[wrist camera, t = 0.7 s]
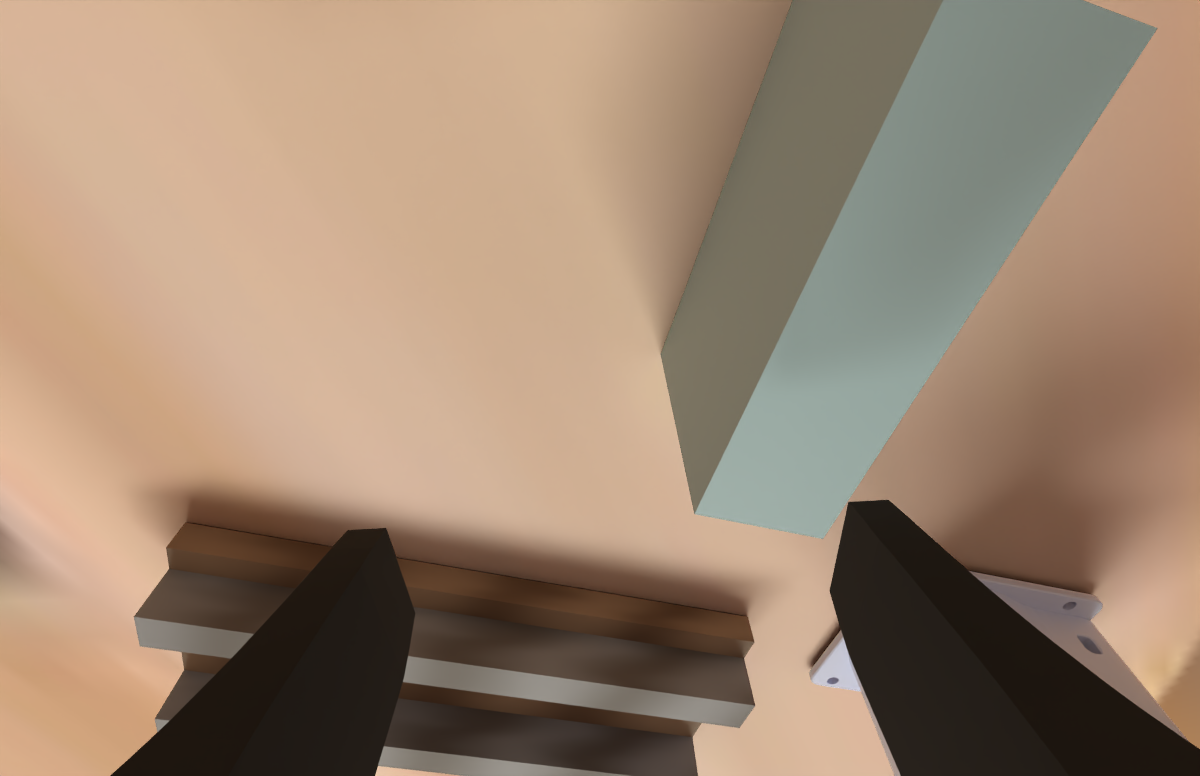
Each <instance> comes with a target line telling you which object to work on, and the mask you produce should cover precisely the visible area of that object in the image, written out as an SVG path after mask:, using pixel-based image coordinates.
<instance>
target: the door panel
mask: <svg viewBox="0 0 1200 776" xmlns="http://www.w3.org/2000/svg"><path fill="white" fill-rule="evenodd" d="M1156 30H1157V28H1155V27H1153V26H1150V25H1147V24H1145V23H1142V22H1139V21H1137V20H1134V19H1131V18H1129V17H1126V16H1123V15H1121V14H1118V13H1115V12H1112V11H1110V10H1107V9H1104V8H1102V7H1099V6H1096V5H1094V4H1091V3H1088V2H1086V1H1083V0H793V1H792V3H791V6H790V9H789V12H788V14H787V17H786V20H785V22H784V25H783V28H782V30H781V33H780V36H779V38H778V41H777V44H776V46H775V49H774V52H773V54H772V57H771V60H770V62H769V65H768V68H767V70H766V73H765V76H764V79H763V81H762V84H761V87H760V89H759V92H758V95H757V97H756V100H755V103H754V105H753V108H752V111H751V113H750V116H749V119H748V121H747V124H746V127H745V129H744V132H743V135H742V138H741V140H740V143H739V146H738V148H737V151H736V154H735V156H734V159H733V162H732V164H731V167H730V170H729V172H728V175H727V178H726V180H725V183H724V186H723V188H722V191H721V194H720V197H719V199H718V202H717V205H716V207H715V210H714V213H713V215H712V218H711V221H710V223H709V226H708V229H707V231H706V234H705V237H704V239H703V242H702V245H701V247H700V250H699V253H698V255H697V258H696V261H695V264H694V266H693V269H692V272H691V274H690V277H689V280H688V282H687V285H686V288H685V290H684V293H683V296H682V298H681V301H680V304H679V306H678V309H677V312H676V314H675V317H674V320H673V323H672V325H671V328H670V331H669V333H668V336H667V339H666V341H665V344H664V347H663V349H662V352H661V358H662V363H663V368H664V373H665V377H666V382H667V387H668V391H669V396H670V401H671V406H672V410H673V415H674V420H675V424H676V429H677V434H678V439H679V443H680V448H681V453H682V457H683V462H684V467H685V472H686V476H687V481H688V486H689V490H690V495H691V500H692V505H693V509H694V514H696V515H702V516H707V517H712V518H717V519H722V520H728V521H733V522H738V523H743V524H748V525H754V526H759V527H764V528H769V529H774V530H780V531H785V532H790V533H795V534H800V535H806V536H811V537H816V538H821V539H823V538H824V537H825V535H826V533H827V532H828V530H829V529H830V527H831V526H832V524H833V523H834V521H835V520H836V518H837V517H838V515H839V514H840V512H841V511H842V509H843V508H844V506H845V504H846V503H847V501H848V500H849V498H850V497H851V495H852V494H853V492H854V491H855V489H856V488H857V486H858V485H859V483H860V482H861V480H862V479H863V477H864V475H865V474H866V472H867V471H868V469H869V468H870V466H871V465H872V463H873V462H874V460H875V459H876V457H877V456H878V454H879V453H880V451H881V450H882V448H883V446H884V445H885V443H886V442H887V440H888V439H889V437H890V436H891V434H892V433H893V431H894V430H895V428H896V427H897V425H898V424H899V422H900V421H901V419H902V417H903V416H904V414H905V413H906V411H907V410H908V408H909V407H910V405H911V404H912V402H913V401H914V399H915V398H916V396H917V395H918V393H919V392H920V390H921V388H922V387H923V385H924V384H925V382H926V381H927V379H928V378H929V376H930V375H931V373H932V372H933V370H934V369H935V367H936V366H937V364H938V363H939V361H940V359H941V358H942V356H943V355H944V353H945V352H946V350H947V349H948V347H949V346H950V344H951V343H952V341H953V340H954V338H955V337H956V335H957V334H958V332H959V330H960V329H961V327H962V326H963V324H964V323H965V321H966V320H967V318H968V317H969V315H970V314H971V312H972V311H973V309H974V308H975V306H976V305H977V303H978V301H979V300H980V298H981V297H982V295H983V294H984V292H985V291H986V289H987V288H988V286H989V285H990V283H991V282H992V280H993V279H994V277H995V276H996V274H997V272H998V271H999V269H1000V268H1001V266H1002V265H1003V263H1004V262H1005V260H1006V259H1007V257H1008V256H1009V254H1010V253H1011V251H1012V250H1013V248H1014V247H1015V245H1016V243H1017V242H1018V240H1019V239H1020V237H1021V236H1022V234H1023V233H1024V231H1025V230H1026V228H1027V227H1028V225H1029V224H1030V222H1031V221H1032V219H1033V218H1034V216H1035V214H1036V213H1037V211H1038V210H1039V208H1040V207H1041V205H1042V204H1043V202H1044V201H1045V199H1046V198H1047V196H1048V195H1049V193H1050V192H1051V190H1052V189H1053V187H1054V185H1055V184H1056V182H1057V181H1058V179H1059V178H1060V176H1061V175H1062V173H1063V172H1064V170H1065V169H1066V167H1067V166H1068V164H1069V163H1070V161H1071V160H1072V158H1073V156H1074V155H1075V153H1076V152H1077V150H1078V149H1079V147H1080V146H1081V144H1082V143H1083V141H1084V140H1085V138H1086V137H1087V135H1088V134H1089V132H1090V131H1091V129H1092V127H1093V126H1094V124H1095V123H1096V121H1097V120H1098V118H1099V117H1100V115H1101V114H1102V112H1103V111H1104V109H1105V108H1106V106H1107V105H1108V103H1109V102H1110V100H1111V98H1112V97H1113V95H1114V94H1115V92H1116V91H1117V89H1118V88H1119V86H1120V85H1121V83H1122V82H1123V80H1124V79H1125V77H1126V76H1127V74H1128V73H1129V71H1130V69H1131V68H1132V66H1133V65H1134V63H1135V62H1136V60H1137V59H1138V57H1139V56H1140V54H1141V53H1142V51H1143V50H1144V48H1145V47H1146V45H1147V44H1148V42H1149V40H1150V39H1151V37H1152V36H1153V34H1154V33H1155V31H1156Z"/></svg>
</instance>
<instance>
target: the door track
mask: <svg viewBox="0 0 1200 776" xmlns="http://www.w3.org/2000/svg"><path fill="white" fill-rule="evenodd" d="M331 548H332V547H328V546H322V545H316V544H310V543H304V542H299V541H293V540H287V539H281V538H275V537H269V536H263V535H257V534H251V533H245V532H239V531H233V530H227V529H221V528H215V527H209V526H203V525H197V524H191V523H185V524H184V525H183V527H182V528H181V529H180V530H179V532H178V533H177V534H176V536H175V537H174V538H173V540H172V541H171V542H170V543H169V545H168V546H167V547H166V549H167V556H168V563H169V570H168V571H167V573H166V574H165V575H164V577H163V578H162V579H161V581H160V582H159V584H158V585H157V586H156V588H155V589H154V590H153V592H152V593H151V594H150V596H149V597H148V598H147V600H146V601H145V602H144V604H143V605H142V607H141V608H140V609H139V611H138V612H137V613H136V615H135V616H134V620H135V625H136V630H137V634H138V639H139V644H140V646H142V647H150V648H157V649H164V650H172V651H179V652H182V658H183V665H184V671H183V673H182V675H181V676H180V678H179V680H178V681H177V683H176V685H175V686H174V688H173V690H172V691H171V693H170V695H169V696H168V698H167V700H166V701H165V703H164V705H163V706H162V708H161V709H160V711H159V713H158V714H157V716H156V718H155V722H156V727H157V732H158V731H159V730H160V729H161V728H163V727H164V726H165V725H166V724H167V723H168V722H169V721H170V720H171V719H172V718H173V717H174V716H175V715H176V714H177V713H178V712H179V711H180V710H181V709H182V708H183V707H184V706H185V705H186V704H187V703H188V702H189V701H190V700H191V699H192V698H193V697H194V696H195V695H196V694H197V693H198V692H199V691H200V690H201V689H202V688H203V687H204V686H205V685H206V684H207V683H208V682H209V681H210V680H211V679H212V678H213V677H214V676H215V675H216V673H217V672H218V671H219V670H220V669H221V668H222V667H223V666H224V665H225V664H226V663H227V662H228V661H229V660H230V659H231V658H232V657H233V656H234V655H235V654H236V653H237V652H238V651H239V650H240V648H241V647H242V646H243V645H244V644H245V643H246V642H247V641H248V640H249V639H250V638H251V637H252V635H253V634H254V633H255V632H256V631H257V630H258V629H259V628H260V627H261V626H262V625H263V624H264V623H265V621H266V620H267V619H268V618H269V617H270V616H271V615H272V614H273V613H274V612H275V611H276V610H277V608H278V607H279V606H280V605H281V604H282V603H283V602H284V601H285V599H286V598H287V597H288V596H289V595H290V594H291V593H292V592H293V591H294V589H295V588H296V587H297V586H298V585H299V584H300V583H301V582H302V581H303V579H304V578H305V577H306V576H307V575H308V574H309V573H310V572H311V570H312V569H313V568H314V567H315V566H316V565H317V564H318V563H319V561H320V560H321V559H322V558H323V557H324V556H325V555H326V554H327V552H328V551H329V550H330V549H331ZM397 561H398V564H399V567H400V570H401V573H402V576H403V578H404V581H405V584H406V587H407V590H408V593H409V596H410V599H411V602H412V605H413V608H414V610H415V618H414V624H413V631H412V637H411V643H410V649H409V654H408V659H407V665H406V670H405V675H404V680H403V683H402V687H401V690H400V694H399V697H398V700H397V704H396V707H395V711H394V714H393V717H392V721H391V724H390V727H389V731H388V734H387V737H386V741H385V744H384V747H383V751H382V754H381V757H380V761H379V764H378V766H384V767H392V768H401V769H410V770H419V771H427V772H436V773H445V774H454V775H462V776H698V773H697V766H696V759H695V752H694V745H693V738H692V737H693V735H694V734H695V732H696V731H697V729H698V728H699V726H700V725H701V723H707V724H715V725H722V726H729V727H737V728H740V726H741V725H742V723H743V722H744V721H745V719H746V718H747V716H748V715H749V714H750V712H751V711H752V709H753V708H754V707H755V703H754V699H753V694H752V690H751V686H750V682H749V678H748V674H747V669H746V665H745V661H744V657H745V656H746V654H747V653H748V651H749V650H750V648H751V647H752V645H753V643H754V639H753V635H752V631H751V627H750V624H749V620H748V617H746V616H740V615H734V614H728V613H722V612H716V611H710V610H705V609H699V608H693V607H687V606H681V605H675V604H669V603H663V602H657V601H651V600H645V599H639V598H633V597H627V596H621V595H615V594H609V593H603V592H597V591H591V590H585V589H579V588H573V587H567V586H561V585H555V584H549V583H543V582H537V581H531V580H525V579H519V578H513V577H507V576H502V575H496V574H490V573H484V572H478V571H472V570H466V569H460V568H454V567H448V566H442V565H436V564H430V563H424V562H418V561H412V560H406V559H400V558H397Z"/></svg>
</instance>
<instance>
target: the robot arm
mask: <svg viewBox="0 0 1200 776" xmlns="http://www.w3.org/2000/svg"><path fill="white" fill-rule="evenodd" d="M830 594H831V597H832V601H833V604H834V608H835V611H836V615H837V618H838V622H839V625H840V628H841V630H840V632H839V633H838V634H837V636H836V637H835V638H834V640H833V641H832V642H831V644H830V645H829V646H828V647H827V649H826V650H825V651H824V653H823V654H822V655H821V657H820V658H819V659H818V661H817V662H816V663H815V665H814V666H813V667H812V668H811V670H810V672H809V675H810V678H811V681H812V682H813V683H814V684H817V685H822V686H828V687H835V688H841V689H848V690H855V691H861V693H862V695H863V698H864V700H865V703H866V705H867V708H868V710H869V713H870V715H871V718H872V720H873V723H874V725H875V728H876V730H877V733H878V735H879V738H880V740H881V743H882V745H883V748H884V751H885V753H886V756H887V758H888V761H889V763H890V766H891V768H892V771H893V773H894V776H1200V749H1199V748H1197V747H1195V746H1194V745H1193V744H1191V743H1190V742H1189V741H1188V740H1187V739H1186V737H1185V736H1184V735H1183V734H1182V733H1181V731H1180V730H1179V729H1178V728H1177V726H1176V725H1175V724H1174V723H1173V722H1172V720H1171V719H1170V718H1169V717H1168V715H1167V714H1166V713H1165V712H1164V710H1163V709H1162V708H1161V707H1160V706H1159V704H1158V703H1157V702H1156V701H1155V699H1154V698H1153V697H1152V696H1151V695H1150V693H1149V692H1148V691H1147V690H1146V688H1145V687H1144V686H1143V685H1142V684H1141V682H1140V681H1139V680H1138V679H1137V677H1136V676H1135V675H1134V674H1133V672H1132V671H1131V670H1130V669H1129V668H1128V666H1127V665H1126V664H1125V663H1124V661H1123V660H1122V659H1121V658H1120V657H1119V655H1118V654H1117V653H1116V652H1115V650H1114V649H1113V648H1112V647H1111V645H1110V644H1109V643H1108V642H1107V641H1106V639H1105V638H1104V637H1103V636H1102V634H1101V633H1100V632H1099V631H1098V630H1097V628H1096V627H1095V626H1094V625H1093V623H1092V622H1091V621H1090V620H1091V619H1092V618H1093V617H1094V616H1095V615H1096V614H1097V613H1099V612H1100V610H1101V609H1102V606H1103V604H1102V603H1101V601H1100V600H1099V599H1098V598H1097V597H1096V596H1094V595H1091V594H1086V593H1081V592H1076V591H1071V590H1065V589H1060V588H1055V587H1050V586H1044V585H1039V584H1034V583H1029V582H1024V581H1018V580H1013V579H1008V578H1003V577H998V576H992V575H987V574H982V573H977V572H972V571H968V570H967V569H966V568H965V567H964V566H962V565H961V564H960V563H959V562H958V561H957V560H956V559H955V558H953V557H952V556H951V555H950V554H949V553H948V552H947V551H945V550H944V549H943V548H942V547H941V546H940V545H939V544H938V543H936V542H935V541H934V540H933V539H932V538H931V537H930V536H929V535H927V534H926V533H925V532H924V531H923V530H922V529H921V528H920V527H919V526H917V525H916V524H915V523H914V522H913V521H912V520H911V519H910V518H908V517H907V516H906V515H905V514H904V513H903V512H902V511H901V510H899V509H898V508H897V507H896V506H895V505H894V504H893V503H891V502H890V501H889V500H878V501H860V502H848V507H847V512H846V516H845V521H844V526H843V530H842V535H841V540H840V545H839V549H838V554H837V559H836V563H835V568H834V573H833V577H832V582H831V587H830ZM414 618H415V610H414V608H413V605H412V602H411V599H410V596H409V593H408V590H407V587H406V584H405V581H404V578H403V576H402V573H401V570H400V567H399V564H398V561H397V558H396V555H395V552H394V549H393V546H392V544H391V541H390V538H389V535H388V532H387V529H386V528H380V529H362V530H348V531H347V532H346V533H345V534H344V535H343V536H342V537H341V538H340V539H339V541H338V542H337V543H336V544H335V545H334V546H333V547H332V548H331V549H330V550H329V551H328V552H327V554H326V555H325V556H324V557H323V558H322V559H321V560H320V561H319V563H318V564H317V565H316V566H315V567H314V568H313V569H312V570H311V572H310V573H309V574H308V575H307V576H306V577H305V578H304V579H303V581H302V582H301V583H300V584H299V585H298V586H297V587H296V588H295V589H294V591H293V592H292V593H291V594H290V595H289V596H288V597H287V598H286V599H285V601H284V602H283V603H282V604H281V605H280V606H279V607H278V608H277V610H276V611H275V612H274V613H273V614H272V615H271V616H270V617H269V618H268V619H267V620H266V621H265V623H264V624H263V625H262V626H261V627H260V628H259V629H258V630H257V631H256V632H255V633H254V634H253V635H252V637H251V638H250V639H249V640H248V641H247V642H246V643H245V644H244V645H243V646H242V647H241V648H240V650H239V651H238V652H237V653H236V654H235V655H234V656H233V657H232V658H231V659H230V660H229V661H228V662H227V663H226V664H225V665H224V666H223V667H222V668H221V669H220V670H219V671H218V672H217V673H216V675H215V676H214V677H213V678H212V679H211V680H210V681H209V682H208V683H207V684H206V685H205V686H204V687H203V688H202V689H201V690H200V691H199V692H198V693H197V694H196V695H195V696H194V697H193V698H192V699H191V700H190V701H189V702H188V703H187V704H186V705H185V706H184V707H183V708H182V709H181V710H180V711H179V712H178V713H177V714H176V715H175V716H174V717H173V718H172V719H171V720H170V721H169V722H168V723H167V724H166V725H165V726H164V727H163V728H161V729H160V730H159V731H158V732H157V733H156V734H155V735H154V736H153V737H152V738H151V739H150V740H149V741H148V742H147V743H146V744H145V745H143V746H142V747H141V748H140V749H139V750H138V751H137V752H136V753H135V754H134V755H133V756H132V757H131V758H130V759H128V760H127V761H126V762H125V763H124V764H123V765H122V766H121V767H119V768H118V769H117V770H116V771H115V772H114V773H113V774H112V775H111V776H375V774H376V771H377V767H378V764H379V761H380V757H381V754H382V751H383V747H384V744H385V741H386V737H387V734H388V731H389V727H390V724H391V721H392V717H393V714H394V711H395V707H396V704H397V700H398V697H399V694H400V690H401V687H402V683H403V680H404V675H405V670H406V665H407V659H408V654H409V649H410V643H411V637H412V631H413V624H414Z"/></svg>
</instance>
